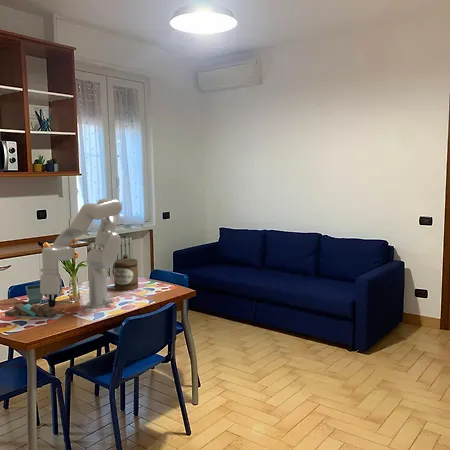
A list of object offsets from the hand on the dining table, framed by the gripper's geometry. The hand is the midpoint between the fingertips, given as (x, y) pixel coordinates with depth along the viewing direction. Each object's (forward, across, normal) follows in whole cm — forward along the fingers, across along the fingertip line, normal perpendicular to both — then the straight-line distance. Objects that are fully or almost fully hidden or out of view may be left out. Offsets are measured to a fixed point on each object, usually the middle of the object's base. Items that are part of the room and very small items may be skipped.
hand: (52, 306), depth 238 cm
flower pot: (+6, -24, +23) cm, 34 cm away
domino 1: (+4, -17, 0) cm, 18 cm away
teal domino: (+4, -8, 0) cm, 9 cm away
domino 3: (+4, -3, 0) cm, 5 cm away
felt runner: (+5, -7, 0) cm, 9 cm away
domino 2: (+4, -13, 0) cm, 13 cm away
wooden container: (+6, +15, +63) cm, 65 cm away
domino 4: (+4, +1, 0) cm, 4 cm away
